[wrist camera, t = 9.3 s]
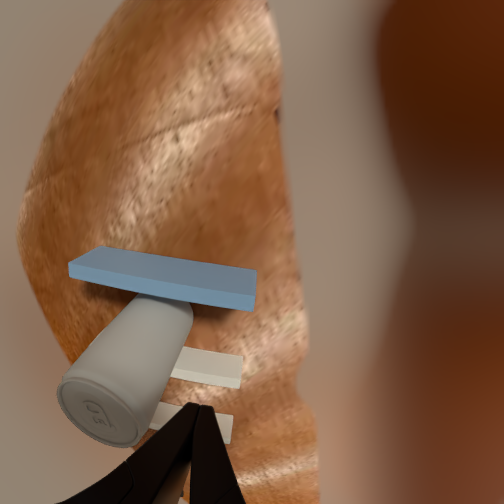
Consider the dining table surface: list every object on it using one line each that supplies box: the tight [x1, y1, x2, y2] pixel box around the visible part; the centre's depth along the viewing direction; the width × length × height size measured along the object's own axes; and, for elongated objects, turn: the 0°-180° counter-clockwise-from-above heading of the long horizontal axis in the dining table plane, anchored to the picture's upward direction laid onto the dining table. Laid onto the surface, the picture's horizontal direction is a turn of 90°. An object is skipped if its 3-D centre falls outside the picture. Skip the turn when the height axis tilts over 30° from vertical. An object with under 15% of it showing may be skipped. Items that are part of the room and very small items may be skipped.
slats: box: [69, 246, 257, 444], centre depth 21 cm, size 16×12×4 cm
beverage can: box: [57, 293, 194, 448], centre depth 16 cm, size 5×5×12 cm
